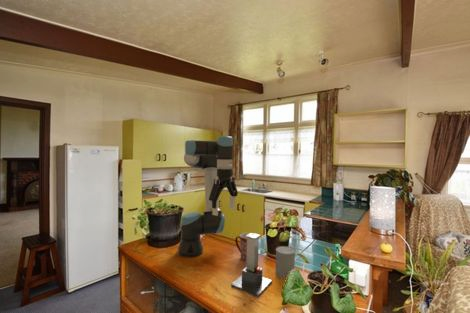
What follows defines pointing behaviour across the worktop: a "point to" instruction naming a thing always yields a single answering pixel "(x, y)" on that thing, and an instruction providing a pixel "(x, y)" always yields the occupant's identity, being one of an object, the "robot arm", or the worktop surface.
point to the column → (252, 251)
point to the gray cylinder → (284, 260)
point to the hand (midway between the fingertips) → (224, 212)
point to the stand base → (252, 282)
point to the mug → (242, 245)
